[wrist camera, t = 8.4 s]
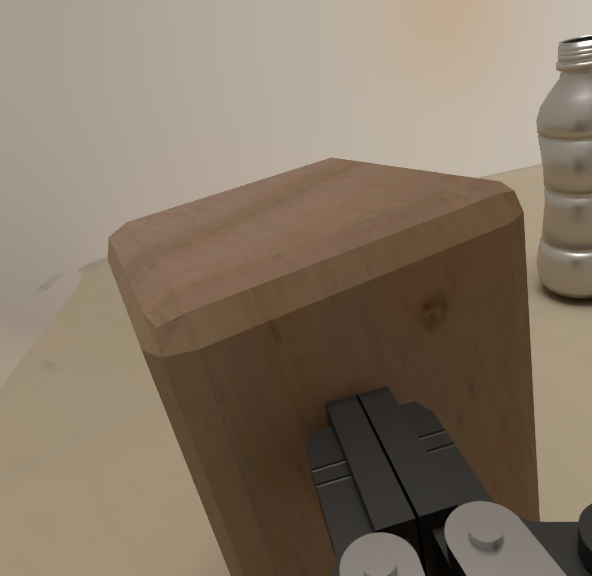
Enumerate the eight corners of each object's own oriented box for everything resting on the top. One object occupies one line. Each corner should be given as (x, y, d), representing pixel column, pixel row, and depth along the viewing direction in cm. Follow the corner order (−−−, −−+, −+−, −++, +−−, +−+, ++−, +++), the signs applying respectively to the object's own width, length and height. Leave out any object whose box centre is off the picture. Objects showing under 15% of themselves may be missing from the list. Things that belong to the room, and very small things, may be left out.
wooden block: (559, 674, 20) (540, 170, 13) (337, 845, 17) (130, 324, 10) (408, 508, 29) (341, 149, 21) (243, 602, 26) (94, 226, 18)
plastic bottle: (575, 316, 42) (585, 46, 33) (519, 285, 48) (516, 49, 39) (642, 292, 43) (669, 25, 34) (580, 265, 49) (589, 31, 40)
